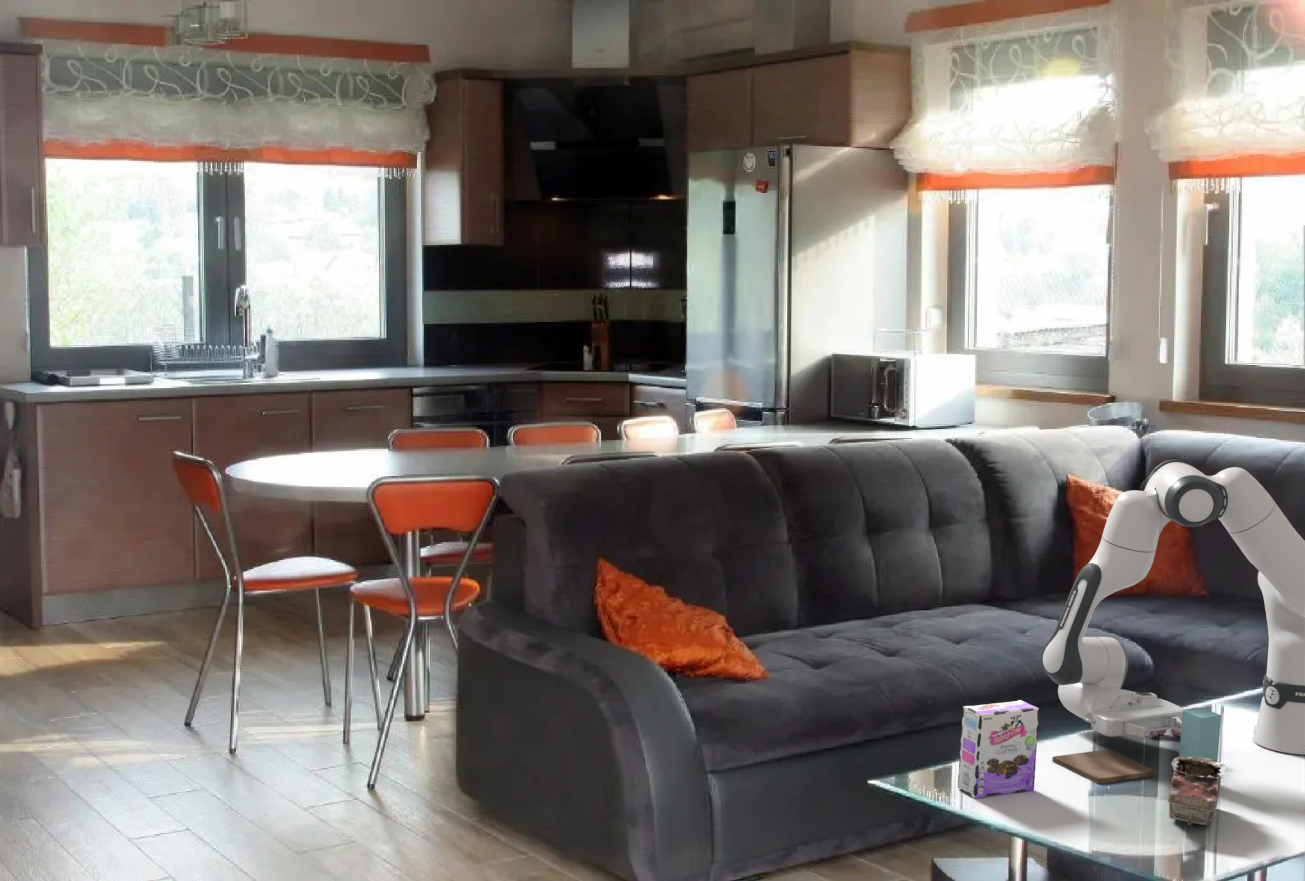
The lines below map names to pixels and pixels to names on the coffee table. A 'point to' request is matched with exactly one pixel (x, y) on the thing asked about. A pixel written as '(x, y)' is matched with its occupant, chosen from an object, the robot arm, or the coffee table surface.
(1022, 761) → the candy box
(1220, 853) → the coffee table surface
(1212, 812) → the decorative box
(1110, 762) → the walnut board
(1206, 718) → the teal block
